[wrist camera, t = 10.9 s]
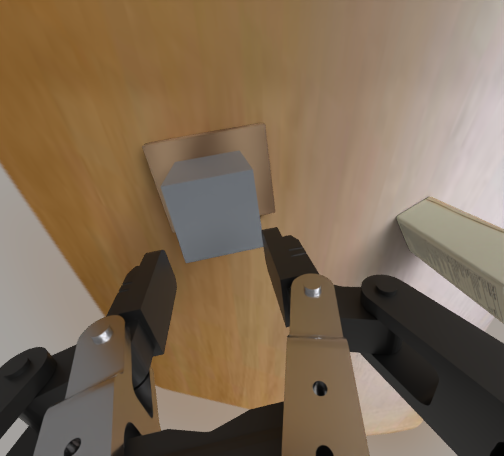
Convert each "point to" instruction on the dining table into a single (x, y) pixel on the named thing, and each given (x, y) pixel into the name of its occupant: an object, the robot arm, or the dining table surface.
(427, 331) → the robot arm
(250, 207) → the blue-grey rectangular block
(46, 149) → the dining table surface
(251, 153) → the wooden stand with post
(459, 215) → the skincare box
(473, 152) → the dining table surface
